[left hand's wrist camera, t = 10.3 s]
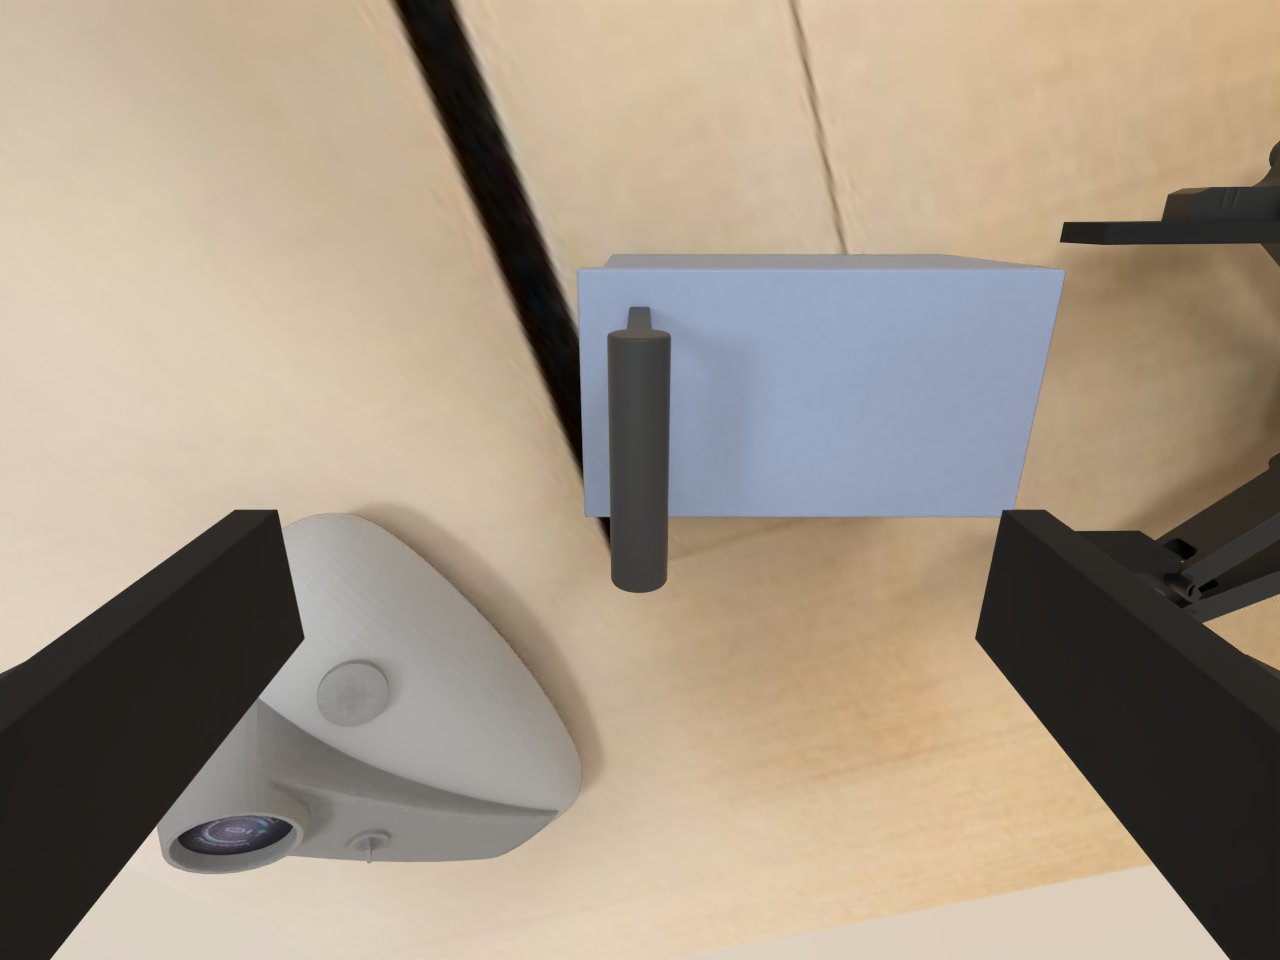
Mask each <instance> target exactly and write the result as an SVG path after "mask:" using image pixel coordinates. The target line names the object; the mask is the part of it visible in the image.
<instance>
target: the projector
mask: <svg viewBox="0 0 1280 960" xmlns="http://www.w3.org/2000/svg"><path fill="white" fill-rule="evenodd" d="M282 534H283V538H284V543H285V548H286V552H287V557H288V562H289V567H290V571H291V576H292V581H293V585H294V590H295V595H296V599H297V604H298V609H299V613H300V618H301V623H302V628H303V632H304V637H305V639H304V640H303V642H302V643H301V644H300V645H299V647H298V648H297V649H296V651H295V652H294V653H293V654H292V656H291V657H290V658H289V659H288V661H287V662H286V663H285V664H284V666H283V667H282V668H281V669H280V671H279V672H278V673H277V674H276V676H275V677H274V678H273V679H272V681H271V682H270V683H269V685H268V686H267V687H266V688H265V690H264V691H263V692H262V693H261V695H260V696H259V697H258V698H257V700H256V701H255V702H254V703H253V705H252V706H251V707H250V708H249V710H248V711H247V712H246V713H245V715H244V716H243V717H242V719H241V720H240V721H239V722H238V724H237V725H236V726H235V727H234V729H233V730H232V731H231V732H230V734H229V735H228V736H227V737H226V739H225V740H224V741H223V742H222V744H221V745H220V746H219V747H218V749H217V750H216V751H215V753H214V754H213V755H212V756H211V758H210V759H209V760H208V761H207V763H206V764H205V765H204V766H203V768H202V769H201V770H200V771H199V773H198V774H197V775H196V776H195V778H194V779H193V780H192V781H191V783H190V784H189V785H188V787H187V788H186V789H185V790H184V792H183V793H182V794H181V795H180V797H179V798H178V799H177V800H176V802H175V803H174V804H173V805H172V807H171V808H170V809H169V810H168V812H167V813H166V814H165V815H164V817H163V818H162V819H161V821H160V822H159V823H158V824H157V830H158V835H159V840H160V845H161V850H162V855H163V857H164V859H165V861H166V862H167V863H168V864H170V865H171V866H173V867H175V868H178V869H181V870H184V871H187V872H193V873H201V874H226V873H236V872H241V871H246V870H251V869H256V868H259V867H262V866H265V865H268V864H271V863H273V862H275V861H277V860H280V859H282V858H284V857H286V856H287V855H289V856H302V857H314V858H327V859H343V860H361V861H367V862H368V863H371V862H372V861H391V862H439V861H461V860H479V859H488V858H494V857H498V856H500V855H503V854H505V853H507V852H509V851H511V850H513V849H515V848H516V847H518V846H520V845H522V844H523V843H524V842H526V841H527V840H529V839H530V838H532V837H533V836H534V835H536V834H537V833H538V832H539V831H541V830H542V829H543V828H545V827H546V826H547V825H549V824H550V823H551V822H553V821H554V820H556V819H557V818H558V817H559V816H561V815H562V814H563V813H564V812H565V811H566V810H567V809H568V808H569V807H570V806H571V805H572V804H573V803H574V801H575V800H576V799H577V797H578V794H579V792H580V786H581V776H582V771H581V762H580V758H579V755H578V752H577V749H576V747H575V745H574V742H573V740H572V738H571V736H570V734H569V732H568V731H567V729H566V727H565V725H564V723H563V722H562V720H561V718H560V717H559V715H558V713H557V711H556V710H555V708H554V706H553V705H552V703H551V702H550V700H549V699H548V697H547V696H546V694H545V693H544V691H543V690H542V688H541V687H540V685H539V684H538V682H537V681H536V679H535V678H534V677H533V675H532V674H531V673H530V671H529V670H528V669H527V667H526V666H525V665H524V663H523V662H522V661H521V659H520V658H519V657H518V656H517V654H516V653H515V652H514V651H513V649H512V648H511V647H510V646H509V645H508V643H507V642H506V641H505V640H504V639H503V638H502V637H501V635H500V634H499V633H498V632H497V631H496V630H495V629H494V627H493V626H492V625H491V624H490V623H489V622H488V621H487V620H486V619H485V618H484V617H483V616H482V615H481V613H480V612H479V611H478V610H477V609H476V608H475V607H474V606H473V605H472V604H471V603H470V602H469V601H468V600H467V599H466V598H465V597H464V596H463V595H462V594H461V593H460V592H459V591H458V590H457V589H456V588H455V587H454V586H453V585H452V584H451V583H450V582H449V581H447V580H446V579H445V578H444V577H443V576H442V575H441V574H440V573H439V572H438V571H437V570H435V569H434V568H433V567H432V566H431V565H430V564H429V563H428V562H427V561H425V560H424V559H423V558H422V557H421V556H419V555H418V554H417V553H416V552H415V551H413V550H412V549H411V548H410V547H409V546H407V545H406V544H405V543H403V542H402V541H401V540H399V539H398V538H396V537H395V536H394V535H392V534H391V533H389V532H388V531H386V530H385V529H383V528H381V527H380V526H378V525H376V524H375V523H372V522H370V521H368V520H366V519H363V518H361V517H358V516H355V515H350V514H344V513H326V514H319V515H313V516H310V517H306V518H303V519H301V520H299V521H297V522H294V523H292V524H290V525H288V526H286V527H284V528H283V529H282Z"/></svg>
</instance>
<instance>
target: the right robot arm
mask: <svg viewBox="0 0 1280 960" xmlns="http://www.w3.org/2000/svg"><path fill="white" fill-rule="evenodd" d="M1269 162H1270V166H1271V169H1270V171H1269V172H1268V174H1267V175H1266V176H1265V178H1264V179H1263V180H1261V181H1260V182H1259V183H1257V184H1256V185H1254V186H1252V187H1208V188H1188V189H1181V190H1178V191H1176V192H1173V193H1171V194H1168V197H1167V201H1166V205H1165V209H1164V213H1163V217H1162V221H1129V222H1064V224H1063V229H1062V234H1061V239H1060V242H1065V243H1081V244H1098V245H1134V244H1236V243H1261V245H1262V246H1263V247H1264V248H1265V249H1266V251H1267V252H1268V253H1269V254H1270V255H1271V257H1272V258H1273V259H1274V260H1275V262H1276V263H1277V264H1278V265H1279V266H1280V141H1279V142H1278V143H1277V144H1276V145H1275V146H1274V147H1273V149H1272V151H1271V153H1270V158H1269ZM1075 532H1076V533H1078V534H1079V535H1080V536H1082V537H1083V538H1085V539H1086V540H1087V541H1089V542H1090V543H1091V544H1093V545H1094V546H1096V547H1097V548H1098V549H1100V550H1101V551H1103V552H1104V553H1105V554H1107V555H1108V556H1109V557H1111V558H1112V559H1114V560H1115V561H1116V562H1118V563H1119V564H1121V565H1122V566H1123V567H1125V568H1126V569H1127V570H1129V571H1130V572H1132V573H1133V574H1134V575H1136V576H1137V577H1138V578H1140V579H1141V580H1143V581H1144V582H1145V583H1147V584H1148V585H1150V586H1151V587H1152V588H1154V589H1155V590H1156V591H1158V592H1159V593H1161V594H1162V595H1163V596H1165V597H1166V598H1167V599H1169V600H1170V601H1172V602H1173V603H1174V604H1176V605H1177V606H1179V607H1180V608H1181V609H1183V610H1184V611H1185V612H1187V613H1188V614H1190V615H1191V616H1192V617H1194V618H1195V619H1196V620H1198V621H1199V622H1201V623H1204V622H1206V621H1209V620H1212V619H1214V618H1217V617H1220V616H1222V615H1225V614H1228V613H1230V612H1233V611H1235V610H1238V609H1241V608H1243V607H1246V606H1249V605H1251V604H1254V603H1257V602H1259V601H1262V600H1265V599H1267V598H1270V597H1273V596H1275V595H1278V594H1280V453H1279V454H1277V455H1275V456H1274V457H1272V458H1271V459H1270V460H1269V469H1268V470H1267V471H1265V472H1264V473H1262V474H1261V475H1259V476H1257V477H1256V478H1254V479H1253V480H1251V481H1249V482H1248V483H1246V484H1245V485H1243V486H1241V487H1240V488H1238V489H1237V490H1235V491H1233V492H1232V493H1230V494H1229V495H1227V496H1225V497H1224V498H1222V499H1221V500H1219V501H1218V502H1216V503H1214V504H1213V505H1211V506H1210V507H1208V508H1206V509H1205V510H1203V511H1202V512H1200V513H1198V514H1197V515H1195V516H1194V517H1192V518H1190V519H1189V520H1187V521H1186V522H1184V523H1182V524H1181V525H1179V526H1178V527H1176V528H1174V529H1173V530H1171V531H1170V532H1168V533H1166V534H1165V535H1163V536H1162V537H1160V538H1158V539H1157V540H1153V539H1152V538H1150V537H1148V536H1147V535H1145V534H1144V533H1142V532H1140V531H1075ZM1181 560H1182V561H1184V562H1183V563H1182V562H1181Z"/></svg>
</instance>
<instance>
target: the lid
mask: <svg viewBox="0 0 1280 960" xmlns="http://www.w3.org/2000/svg"><path fill="white" fill-rule="evenodd" d="M1065 274H1066V271H1065V270H1063V269H1055V268H580V269H578V271H577V285H578V316H579V347H580V378H581V409H582V440H583V471H584V503H585V516H586V517H610V531H611V579H612V582H613V583H614V585H615V586H616V587H618V588H619V589H622V590H624V591H628V592H634V593H645V592H651V591H654V590H657V589H659V588H661V587H662V586H663V585H664V584H665V582H666V580H667V553H668V517H1001V515H1002V510H1014V506H1015V501H1016V497H1017V492H1018V488H1019V483H1020V479H1021V474H1022V469H1023V465H1024V460H1025V456H1026V451H1027V447H1028V442H1029V438H1030V433H1031V429H1032V424H1033V419H1034V415H1035V410H1036V406H1037V401H1038V397H1039V392H1040V388H1041V383H1042V379H1043V374H1044V369H1045V365H1046V360H1047V356H1048V351H1049V347H1050V342H1051V338H1052V333H1053V329H1054V324H1055V319H1056V315H1057V310H1058V306H1059V301H1060V297H1061V292H1062V288H1063V283H1064V279H1065Z"/></svg>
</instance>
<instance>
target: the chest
mask: <svg viewBox="0 0 1280 960" xmlns="http://www.w3.org/2000/svg"><path fill="white" fill-rule="evenodd" d="M603 268H1048V267H1040V266H1032V265H1024V264H1016V263H1008V262H1000V261H992V260H984V259H976V258H968V257H960V256H951V255H612V256H611V258H610V259H609V261H608V262H607V263H606V265H605V266H604V267H603Z"/></svg>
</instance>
